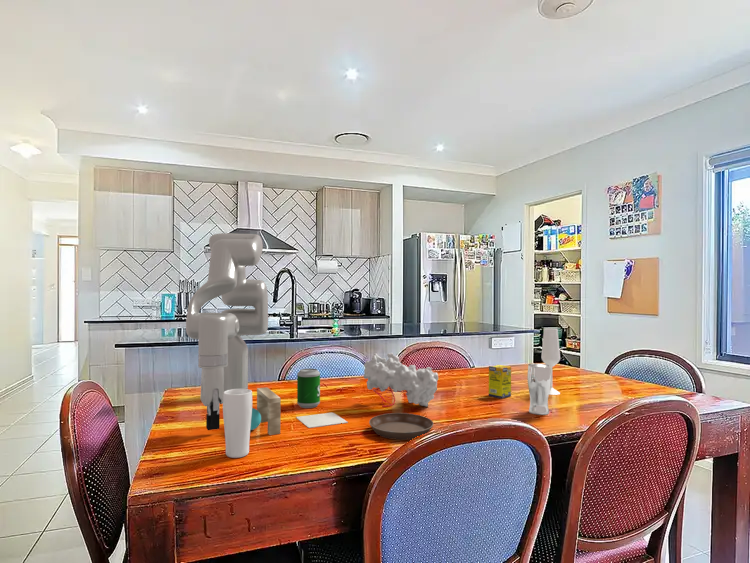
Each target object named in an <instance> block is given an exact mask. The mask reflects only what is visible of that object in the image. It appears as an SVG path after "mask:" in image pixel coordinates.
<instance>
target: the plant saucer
mask: <svg viewBox="0 0 750 563" xmlns="http://www.w3.org/2000/svg"><path fill="white" fill-rule="evenodd" d="M368 423H369V425H370V427H371V428H372V430H373V432H375V433H376V434H377V435H378V436H379V435H380V437H381V438H385V439H389V440H390V439H391V440H401V441H402V440H403V441H404V440H413V439H412V438H415V437H417V436H420V435H422V434H425V433H427V432H428V433H429V432H430V431H431V430H432V428H433V427H434V422H433V420H431V419H430V418H428V417H426V416H423V415H419V414H414V413H407V412H393V413H383V414H379V415H375V416H373V417H371V418H370V419H369V421H368ZM428 433H427V434H428Z"/></svg>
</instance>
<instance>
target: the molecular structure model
mask: <svg viewBox="0 0 750 563" xmlns="http://www.w3.org/2000/svg"><path fill="white" fill-rule="evenodd" d="M386 357H387V358H388V359H387V358H386ZM386 357H381V356H379V354H378V353H376V352H375V353H373V355H372V357H371V360H370V361H369V360H366V361H365V363H364V364H363V366H364V371H363V376H362V377H363V378H364V379H365V380H367V381H366V386H367V389H368V390H373V392H375V394H377V395H378V396H379V397H380V398H381V399H382V401H381V405H382V407H381V408H387V407H391V406H394V405H395V402H396V397H395V394H394V393H405V395H406V399H407V400H408V403H409V404H412V403H413V404H415V405H419V406H422V407H426V408H427V407H428V406H429V402H431V400H434V398H435V396H434V394H435V393H436V392H437V391H438V387H437V386H438V380H439V374H438V372H435V371H433V370H432V367H431V366H430V367H429V366H427V367H426V368H424V367H423V368H416V365H415V364H410V365H409V366H407V365H406V362H405V363H402V362H400V357H399V356H397V355H394V353H393V352H388V353H387V354H386ZM380 392H385V393H387V394H388V393H389V394H390V393H391V394H392V397H389V396H386V395H384V397H385V398H388V399H391V400H393V402H392V403H390V402H389V401H387V400H386V399H385V398H384V397H383V396H382V393H380ZM383 402H384V403H385V402H386V403H388V404H389V405H385V404H384V403H383Z"/></svg>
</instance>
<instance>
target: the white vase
mask: <svg viewBox="0 0 750 563" xmlns="http://www.w3.org/2000/svg"><path fill="white" fill-rule="evenodd" d="M550 382H551V376H550V365H547V364H545V363H528V365H527V386H528V394H529V409H528V412H529V413H530V414H533V415H536V416H545V415H546V416H547V415H549V414H550V408H549V403H548V402H549V401H548V400H549V395H550V394H549V390H550Z"/></svg>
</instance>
